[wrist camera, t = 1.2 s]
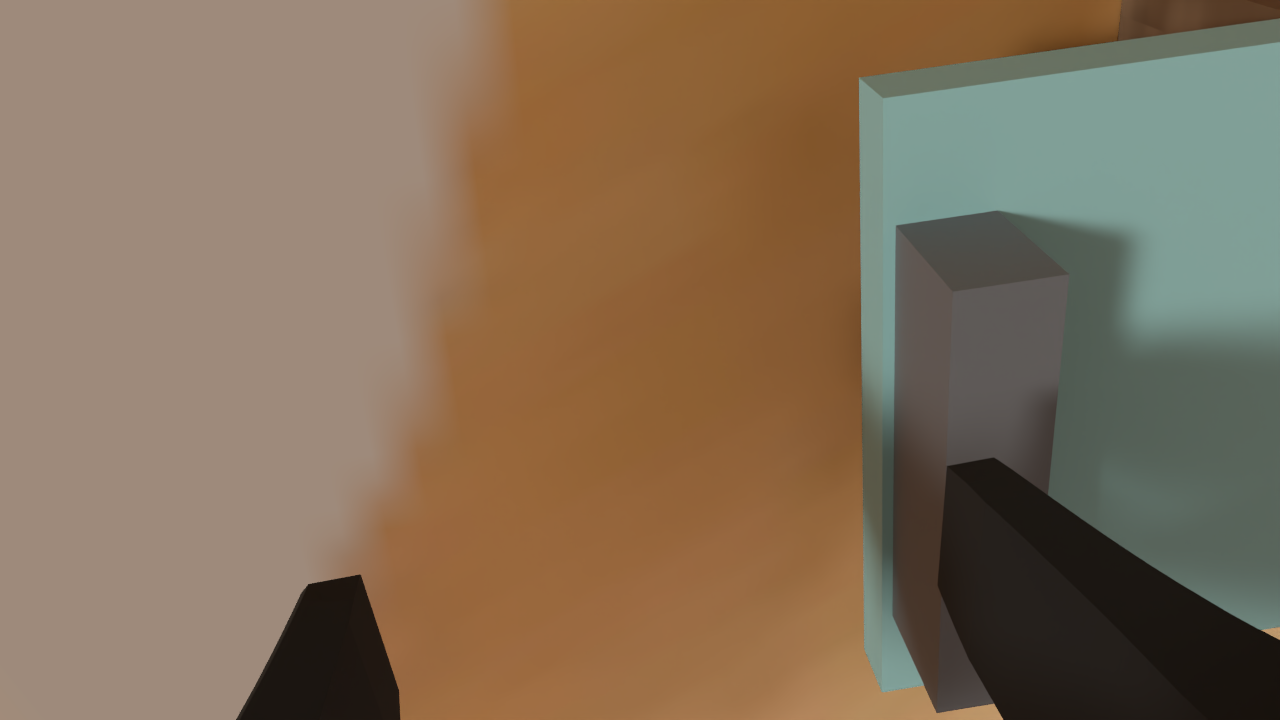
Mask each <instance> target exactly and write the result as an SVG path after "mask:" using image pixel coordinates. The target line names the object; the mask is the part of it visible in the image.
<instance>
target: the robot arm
mask: <svg viewBox="0 0 1280 720" xmlns="http://www.w3.org/2000/svg"><path fill="white" fill-rule="evenodd" d="M937 586H938V588H939V591H940V593H941V596H942V598H943V601H944V603H945V605H946V608H947V610H948V613H949V615H950V618H951V620H952V622H953V625H954V627H955V629H956V632H957V634H958V636H959V638H960V641H961V643H962V645H963V648H964V650H965V652H966V654H967V657H968V659H969V661H970V662H971V664H972V666H973V668H974V669H975V671H976V673H977V675H978V676H979V678H980V680H981V682H982V683H983V685H984V687H985V689H986V690H987V692H988V694H989V695H990V697H991V699H992V701H993V702H994V704H995V706H996V708H997V709H998V711H999V713H1000V714H1001V716H1002V718H1003V719H1004V720H1280V640H1278V639H1277V638H1275V637H1273V636H1271V635H1269V634H1267V633H1265V632H1263V631H1261V630H1259V629H1257V628H1255V627H1254V626H1252V625H1250V624H1248V623H1246V622H1244V621H1243V620H1241V619H1239V618H1237V617H1235V616H1234V615H1232V614H1230V613H1228V612H1227V611H1225V610H1223V609H1221V608H1220V607H1218V606H1216V605H1215V604H1213V603H1211V602H1210V601H1208V600H1206V599H1205V598H1203V597H1201V596H1200V595H1198V594H1196V593H1195V592H1193V591H1191V590H1190V589H1188V588H1186V587H1185V586H1183V585H1181V584H1180V583H1178V582H1176V581H1175V580H1173V579H1172V578H1170V577H1168V576H1167V575H1165V574H1164V573H1162V572H1160V571H1159V570H1157V569H1156V568H1154V567H1153V566H1151V565H1149V564H1148V563H1146V562H1145V561H1143V560H1142V559H1140V558H1139V557H1137V556H1136V555H1134V554H1133V553H1131V552H1130V551H1128V550H1127V549H1125V548H1124V547H1122V546H1121V545H1119V544H1118V543H1116V542H1115V541H1113V540H1112V539H1110V538H1109V537H1107V536H1106V535H1104V534H1103V533H1101V532H1100V531H1098V530H1097V529H1096V528H1094V527H1093V526H1091V525H1090V524H1088V523H1087V522H1085V521H1084V520H1083V519H1081V518H1080V517H1078V516H1077V515H1075V514H1074V513H1073V512H1071V511H1070V510H1068V509H1067V508H1066V507H1064V506H1063V505H1061V504H1060V503H1058V502H1057V501H1056V500H1054V499H1053V498H1051V497H1050V496H1049V495H1047V494H1046V493H1044V492H1043V491H1042V490H1040V489H1039V488H1037V487H1036V486H1035V485H1033V484H1032V483H1030V482H1029V481H1028V480H1026V479H1025V478H1023V477H1022V476H1021V475H1019V474H1018V473H1016V472H1015V471H1013V470H1012V469H1011V468H1009V467H1008V466H1006V465H1005V464H1003V463H1002V462H1000V461H999V460H997V459H996V458H994V457H993V458H988V459H982V460H977V461H971V462H966V463H961V464H955V465H950V466H947V471H946V484H945V497H944V509H943V522H942V534H941V547H940V559H939V572H938V584H937ZM236 720H400V704H399V689H398V686H397V683H396V680H395V677H394V674H393V671H392V668H391V665H390V662H389V659H388V656H387V653H386V650H385V647H384V644H383V641H382V638H381V635H380V632H379V629H378V626H377V623H376V620H375V617H374V614H373V611H372V608H371V605H370V602H369V599H368V596H367V593H366V590H365V586H364V583H363V580H362V577H361V575H355V576H350V577H345V578H339V579H334V580H328V581H323V582H318V583H312V584H308V586H307V587H306V588H305V589H304V591H303V592H302V593H301V595H300V597H299V599H298V602H297V603H296V606H295V608H294V610H293V612H292V614H291V616H290V618H289V620H288V622H287V624H286V626H285V629H284V631H283V633H282V635H281V637H280V639H279V641H278V643H277V645H276V647H275V649H274V651H273V653H272V654H271V656H270V658H269V660H268V662H267V664H266V666H265V668H264V670H263V672H262V674H261V676H260V678H259V679H258V681H257V683H256V685H255V687H254V689H253V691H252V692H251V694H250V696H249V698H248V699H247V701H246V703H245V705H244V707H243V709H242V710H241V712H240V714H239V716H238V718H237V719H236Z"/></svg>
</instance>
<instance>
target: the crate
mask: <svg viewBox="0 0 1280 720" xmlns="http://www.w3.org/2000/svg"><path fill="white" fill-rule="evenodd" d="M1279 18H1280V0H1122V6H1121V15H1120V24H1119V34H1118V41H1123V40H1130V39H1137V38H1145V37H1152V36H1159V35H1166V34H1173V33H1180V32H1187V31H1194V30H1201V29H1208V28H1216V27H1223V26H1230V25H1237V24H1244V23H1251V22H1258V21H1265V20H1272V19H1279Z"/></svg>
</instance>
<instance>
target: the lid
mask: <svg viewBox="0 0 1280 720" xmlns="http://www.w3.org/2000/svg"><path fill="white" fill-rule="evenodd" d="M859 123H860V231H861V339H862V447H863V555H864V649H865V652H866V654H867V657H868V659H869V662H870V664H871V667H872V669H873V672H874V674H875V676H876V679H877V681H878V684H879V686H880V689H881V691H882V692H887V691H893V690H899V689H905V688H911V687H917V686H923V685H924V686H925V688H926V690H927V693H928V695H929V697H930V699H931V701H932V704H933V706H934V708H935V710H936V712H937V713H940V712H946V711H952V710H958V709H964V708H970V707H976V706H982V705H988V704H994V702H993V701H992V699H991V697H990V695H989V694H988V692H987V690H986V689H985V687H984V685H983V683H982V682H981V680H980V678H979V676H978V675H977V673H976V671H975V669H974V668H973V666H972V664H971V662H970V661H969V659H968V657H967V654H966V652H965V650H964V648H963V645H962V643H961V641H960V638H959V636H958V634H957V632H956V629H955V627H954V625H953V622H952V620H951V618H950V615H949V613H948V610H947V608H946V605H945V603H944V601H943V598H942V596H941V593H940V591H939V588H938V586H937V584H938V572H939V559H940V547H941V534H942V522H943V509H944V497H945V484H946V471H947V466H950V465H955V464H961V463H966V462H971V461H977V460H982V459H988V458H993V457H994V458H996V459H997V460H999V461H1000V462H1002V463H1003V464H1005V465H1006V466H1008V467H1009V468H1011V469H1012V470H1013V471H1015V472H1016V473H1018V474H1019V475H1021V476H1022V477H1023V478H1025V479H1026V480H1028V481H1029V482H1030V483H1032V484H1033V485H1035V486H1036V487H1037V488H1039V489H1040V490H1042V491H1043V492H1044V493H1046V494H1047V495H1049V496H1050V497H1051V498H1053V499H1054V500H1056V501H1057V502H1058V503H1060V504H1061V505H1063V506H1064V507H1066V508H1067V509H1068V510H1070V511H1071V512H1073V513H1074V514H1075V515H1077V516H1078V517H1080V518H1081V519H1083V520H1084V521H1085V522H1087V523H1088V524H1090V525H1091V526H1093V527H1094V528H1096V529H1097V530H1098V531H1100V532H1101V533H1103V534H1104V535H1106V536H1107V537H1109V538H1110V539H1112V540H1113V541H1115V542H1116V543H1118V544H1119V545H1121V546H1122V547H1124V548H1125V549H1127V550H1128V551H1130V552H1131V553H1133V554H1134V555H1136V556H1137V557H1139V558H1140V559H1142V560H1143V561H1145V562H1146V563H1148V564H1149V565H1151V566H1153V567H1154V568H1156V569H1157V570H1159V571H1160V572H1162V573H1164V574H1165V575H1167V576H1168V577H1170V578H1172V579H1173V580H1175V581H1176V582H1178V583H1180V584H1181V585H1183V586H1185V587H1186V588H1188V589H1190V590H1191V591H1193V592H1195V593H1196V594H1198V595H1200V596H1201V597H1203V598H1205V599H1206V600H1208V601H1210V602H1211V603H1213V604H1215V605H1216V606H1218V607H1220V608H1221V609H1223V610H1225V611H1227V612H1228V613H1230V614H1232V615H1234V616H1235V617H1237V618H1239V619H1241V620H1243V621H1244V622H1246V623H1248V624H1250V625H1252V626H1254V627H1255V628H1257V629H1259V630H1263V629H1269V628H1276V627H1280V18H1279V19H1272V20H1265V21H1258V22H1251V23H1244V24H1237V25H1230V26H1223V27H1216V28H1208V29H1201V30H1194V31H1187V32H1180V33H1173V34H1166V35H1159V36H1152V37H1145V38H1137V39H1130V40H1123V41H1116V42H1109V43H1102V44H1095V45H1088V46H1081V47H1074V48H1067V49H1059V50H1052V51H1045V52H1038V53H1031V54H1024V55H1017V56H1010V57H1003V58H996V59H989V60H981V61H974V62H967V63H960V64H953V65H946V66H939V67H932V68H925V69H918V70H911V71H903V72H896V73H889V74H882V75H875V76H868V77H861V78H859Z"/></svg>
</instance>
